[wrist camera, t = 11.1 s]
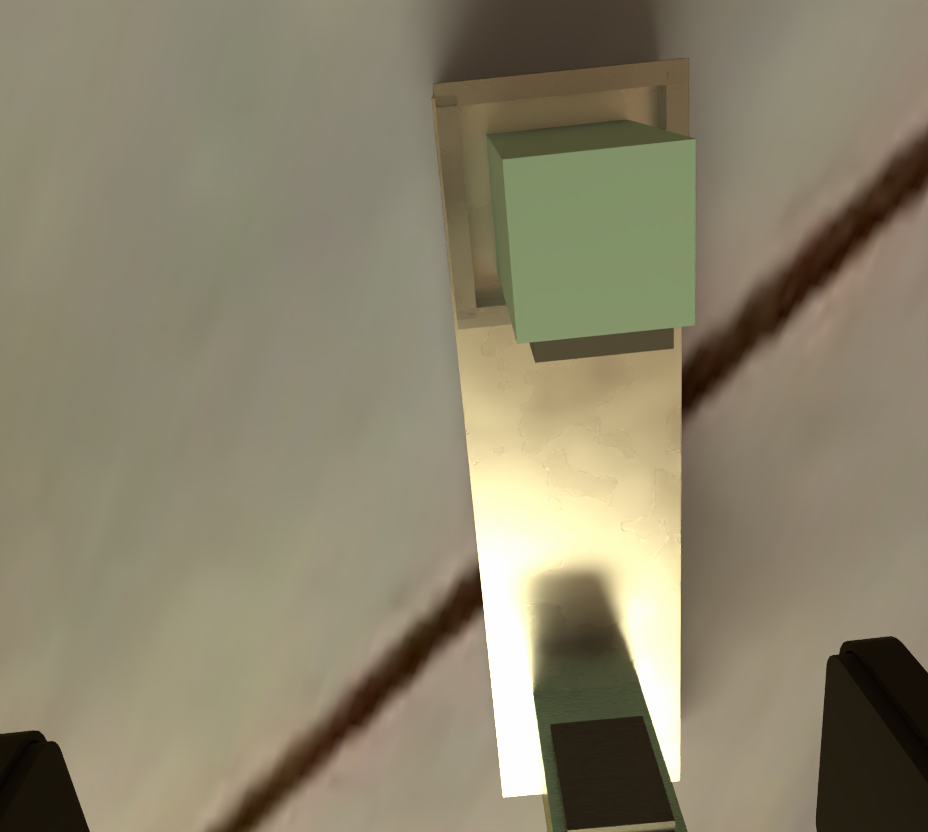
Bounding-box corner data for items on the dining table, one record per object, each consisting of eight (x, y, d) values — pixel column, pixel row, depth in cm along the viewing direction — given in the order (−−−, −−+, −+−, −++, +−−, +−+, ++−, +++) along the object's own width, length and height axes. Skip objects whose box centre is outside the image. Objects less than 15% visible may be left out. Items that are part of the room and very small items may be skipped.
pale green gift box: (499, 292, 26) (518, 368, 19) (485, 134, 24) (502, 159, 17) (631, 278, 26) (694, 351, 19) (627, 119, 24) (695, 139, 17)
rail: (499, 750, 36) (517, 972, 27) (431, 82, 26) (425, 90, 17) (664, 735, 36) (737, 953, 27) (661, 58, 26) (775, 55, 17)
